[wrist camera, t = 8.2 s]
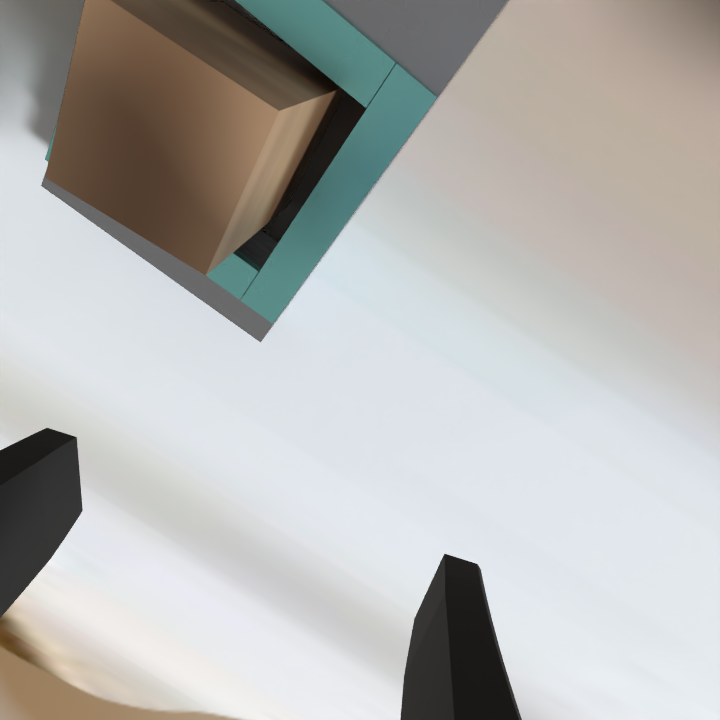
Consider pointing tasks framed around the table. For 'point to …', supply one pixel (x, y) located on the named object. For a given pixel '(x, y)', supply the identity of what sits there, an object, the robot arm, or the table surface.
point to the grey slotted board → (357, 155)
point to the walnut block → (186, 123)
